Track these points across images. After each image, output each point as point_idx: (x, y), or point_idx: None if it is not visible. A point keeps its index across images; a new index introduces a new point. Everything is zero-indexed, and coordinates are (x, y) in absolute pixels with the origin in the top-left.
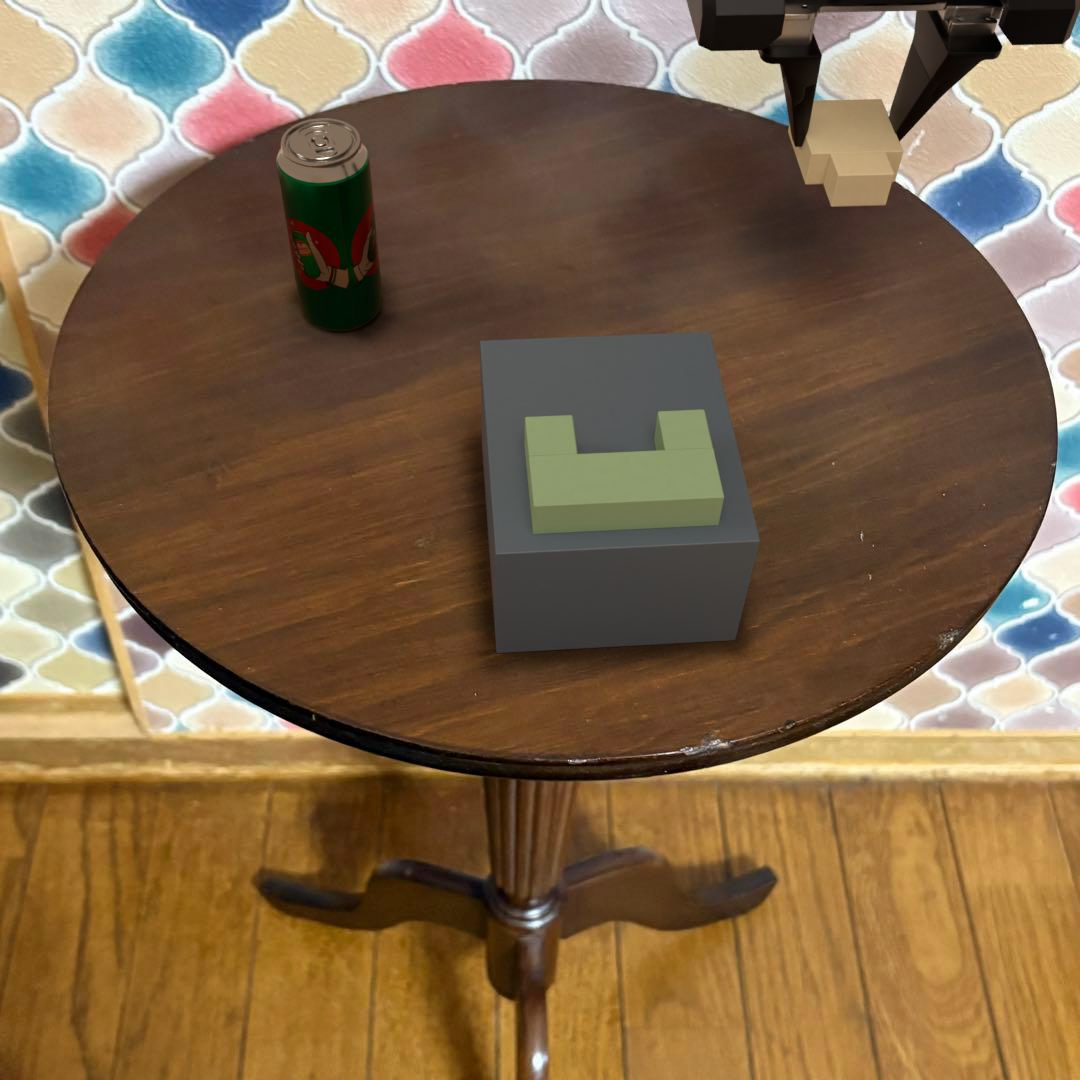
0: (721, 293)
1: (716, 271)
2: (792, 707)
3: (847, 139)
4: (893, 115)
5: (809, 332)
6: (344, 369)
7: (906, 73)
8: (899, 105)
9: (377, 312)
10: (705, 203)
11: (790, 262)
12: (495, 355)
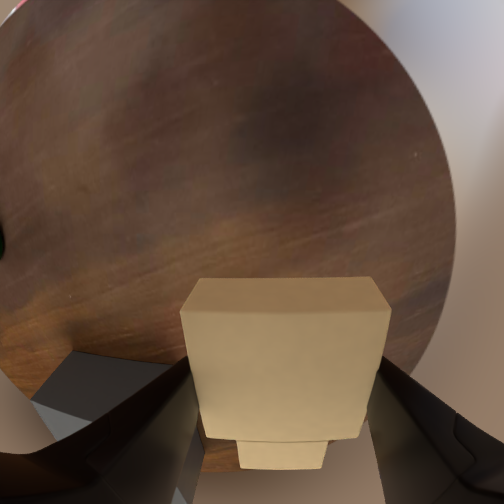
0: (206, 220)
1: (204, 187)
2: (226, 469)
3: (273, 420)
4: (376, 398)
5: (281, 274)
6: (6, 286)
7: (414, 451)
8: (384, 423)
9: (1, 251)
10: (204, 80)
11: (282, 174)
12: (40, 411)
